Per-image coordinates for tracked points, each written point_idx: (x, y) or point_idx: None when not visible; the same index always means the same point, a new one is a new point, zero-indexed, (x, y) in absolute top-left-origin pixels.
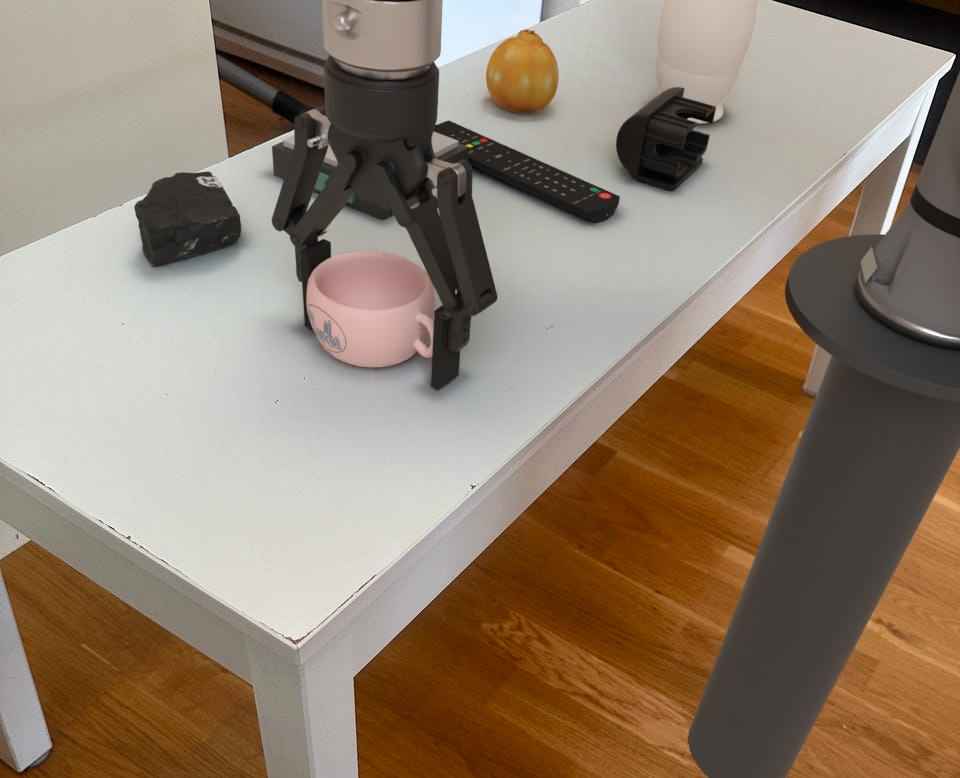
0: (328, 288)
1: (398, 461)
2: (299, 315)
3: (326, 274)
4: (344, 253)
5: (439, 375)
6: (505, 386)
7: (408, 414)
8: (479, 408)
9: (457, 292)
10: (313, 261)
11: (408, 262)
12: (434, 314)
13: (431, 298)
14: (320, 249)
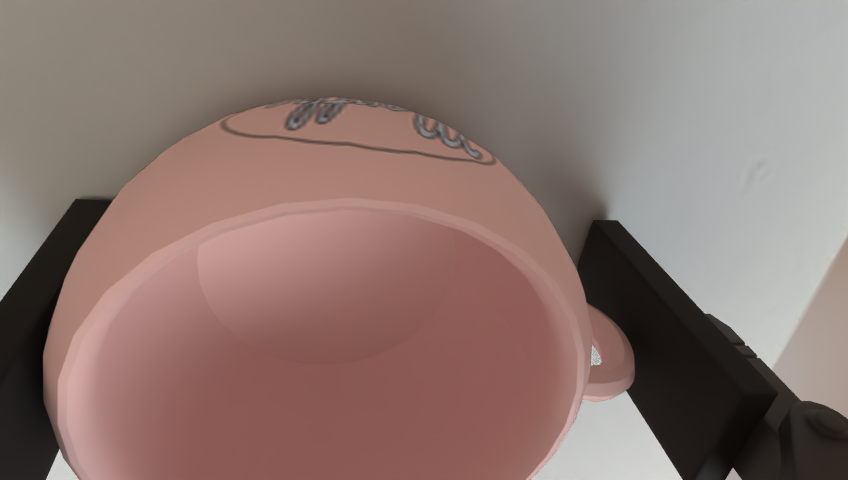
0: (121, 350)
1: (590, 472)
2: (7, 241)
3: (105, 409)
4: (71, 357)
5: None
6: (740, 173)
7: None
8: (693, 282)
9: (780, 447)
10: (31, 471)
11: (389, 211)
12: (681, 475)
13: (591, 325)
14: (2, 472)
